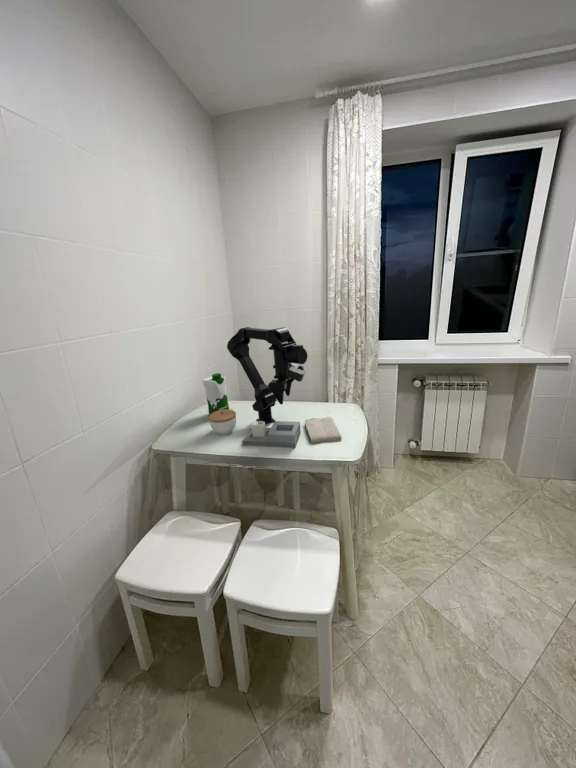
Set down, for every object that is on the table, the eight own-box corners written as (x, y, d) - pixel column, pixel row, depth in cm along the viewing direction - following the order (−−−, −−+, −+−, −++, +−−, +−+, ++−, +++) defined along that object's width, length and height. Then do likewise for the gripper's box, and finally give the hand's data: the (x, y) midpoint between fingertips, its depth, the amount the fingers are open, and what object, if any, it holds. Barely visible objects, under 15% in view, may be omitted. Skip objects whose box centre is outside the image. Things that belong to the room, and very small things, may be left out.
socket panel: (242, 445, 109) (241, 433, 107) (252, 431, 119) (250, 420, 118) (295, 447, 104) (294, 435, 103) (300, 433, 115) (299, 421, 113)
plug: (253, 440, 112) (251, 423, 110) (255, 436, 115) (253, 419, 113) (264, 440, 111) (262, 423, 109) (266, 437, 114) (264, 419, 112)
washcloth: (331, 421, 124) (330, 414, 124) (342, 441, 107) (342, 433, 106) (303, 424, 124) (302, 417, 123) (310, 445, 106) (310, 437, 106)
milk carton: (218, 420, 132) (212, 377, 126) (205, 416, 138) (198, 375, 131) (233, 413, 139) (227, 372, 133) (220, 409, 144) (214, 370, 138)
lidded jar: (236, 436, 116) (233, 414, 113) (209, 439, 116) (205, 417, 113) (239, 424, 126) (236, 404, 123) (214, 427, 126) (210, 407, 123)
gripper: (296, 368, 101) (298, 410, 106) (307, 355, 118) (309, 392, 123) (265, 368, 104) (269, 408, 109) (281, 356, 121) (284, 391, 126)
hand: (284, 399), depth 116 cm, fingers open, 9 cm apart
